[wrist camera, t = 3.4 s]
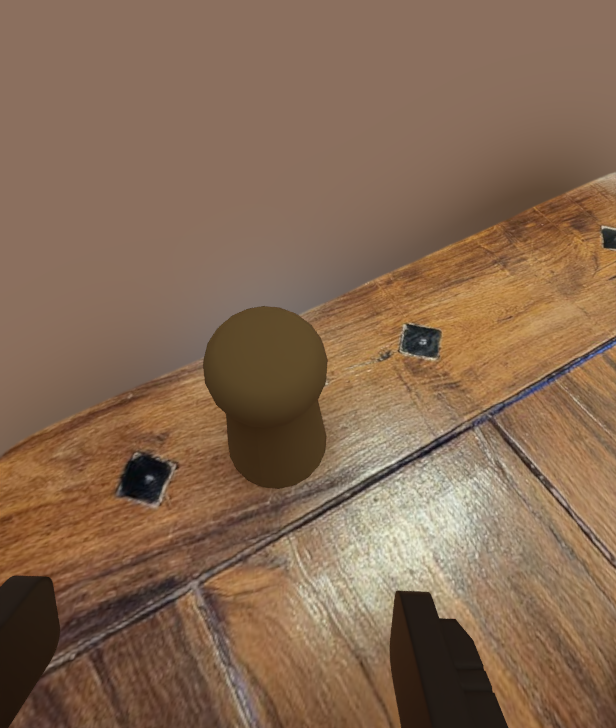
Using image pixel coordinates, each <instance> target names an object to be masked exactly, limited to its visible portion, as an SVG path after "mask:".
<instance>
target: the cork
mask: <svg viewBox="0 0 616 728" xmlns="http://www.w3.org/2000/svg"><path fill="white" fill-rule="evenodd" d="M327 361H328V360H327V356H326V353H325V349H324V346H323V343H322V340H321V338H320V336H319V335H318V334H317V332H316V331H315V329H314V328H313V327H312V325H311V324H309V323H308V322H307V321H305V320H304V319H303V318H301V317H300V316H299V315H297V314H295V313H293V312H290V311H287V310H285V309H282V308H277V307H265V306H262V307H256V308H250V309H246V310H244V311H242V312H239V313H237V314H235V315H233V316H231V317H230V318H229V319H228V320H227V321H225V322H224V323H223V324H222V325H221V326H220V327H219V328H218V329H217V330H216V331H215V333H214V334H213V336H212V338H211V339H210V341H209V342H208V344H207V349H206V352H205V356H204V362H203V369H204V377H205V384H206V386H207V388H208V390H209V392H210V394H211V396H212V397H213V399H214V401H215V403H216V405H217V406H218V407H219V408H221V409H222V410H223V411H224V412H225V413H226V419H227V433H228V445H229V452H230V457H231V459H232V461H233V463H234V465H235V467H236V469H237V470H238V471H239V472H240V473H241V474H242V475H243V476H244V477H245V478H246V479H247V480H248V481H251V482H253V483H255V484H257V485H259V486H262V487H268V488H277V489H279V488H284V487H288V486H293V485H296V484H297V483H299V482H301V481H303V480H304V479H306V478H308V477H309V476H310V475H311V474H312V473H313V471H314V470H315V469H316V468H317V467H318V466H319V464H320V462H321V460H322V457H323V455H324V452H325V447H326V433H325V428H324V424H323V420H322V416H321V412H320V407H319V403H318V398H319V396H320V394H321V392H322V389H323V387H324V385H325V382H326V373H327Z"/></svg>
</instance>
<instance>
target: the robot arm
mask: <svg viewBox="0 0 616 728" xmlns="http://www.w3.org/2000/svg"><path fill="white" fill-rule="evenodd" d="M59 636H60V625H59V618H58V612H57V606H56V600H55V594H54V587H53V582H52V580H51V579H50V578H49V577H42V576H12V577H10V578H9V579H8V580H7V581H6V582H5V583H4V584H3V585H2V586H1V587H0V728H8V727H9V726H10V724H11V723H12V721H13V720H14V718H15V716H16V715H17V713H18V712H19V710H20V708H21V707H22V705H23V704H24V702H25V701H26V699H27V697H28V696H29V694H30V693H31V691H32V690H33V688H34V686H35V685H36V683H37V682H38V680H39V678H40V677H41V675H42V674H43V672H44V671H45V669H46V667H47V666H48V664H49V663H50V661H51V659H52V657H53V655H54V653H55V651H56V648H57V645H58V641H59ZM390 664H391V673H392V679H393V684H394V690H395V695H396V701H397V706H398V712H399V717H400V723H401V728H508V726H507V723H506V721H505V718H504V716H503V713H502V711H501V708H500V706H499V703H498V701H497V698H496V696H495V693H493V692H492V686H491V684H490V681H489V679H488V676H487V674H486V671H484V669H483V664H482V661H481V659H480V656H479V654H478V651H477V649H476V646H475V644H474V641H473V640H472V638H471V637H470V636H469V635H468V634H467V632H466V631H465V630H464V629H463V628H462V626H461V625H460V624H459V623H458V622H457V620H456V619H441V618H439V616H438V613H437V610H436V608H435V605H434V602H433V599H432V596H431V594H430V593H429V592H419V591H396V593H395V599H394V608H393V617H392V627H391V636H390Z"/></svg>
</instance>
